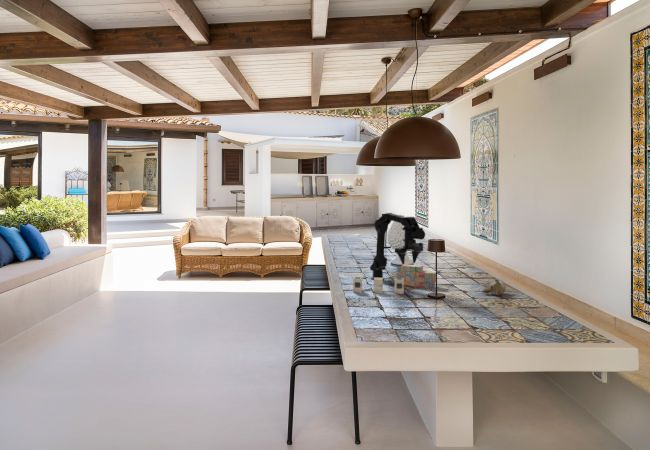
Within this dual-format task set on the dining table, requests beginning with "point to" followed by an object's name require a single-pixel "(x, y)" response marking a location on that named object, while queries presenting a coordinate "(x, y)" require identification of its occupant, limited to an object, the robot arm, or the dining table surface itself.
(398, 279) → the marked block 2
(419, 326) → the dining table surface
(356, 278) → the marked block 1
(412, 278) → the stack of blocks
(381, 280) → the plain block
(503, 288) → the ceramic sculpture
